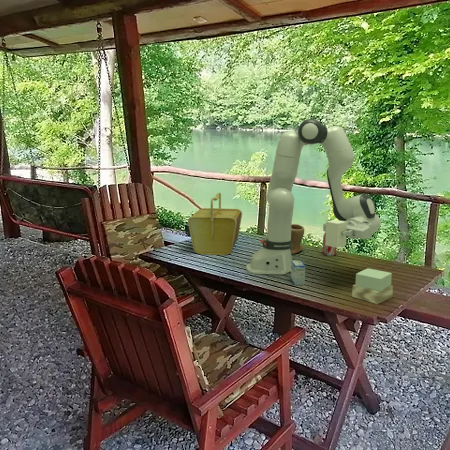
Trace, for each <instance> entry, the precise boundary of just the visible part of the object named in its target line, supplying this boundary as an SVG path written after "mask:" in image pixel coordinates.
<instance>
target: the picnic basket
mask: <svg viewBox="0 0 450 450" xmlns="http://www.w3.org/2000/svg"><path fill="white" fill-rule="evenodd" d="M214 201H215V202H217V201H218V208H217V207H216V208H215V207H214ZM242 217H243V212H242V210H240V209H239V208H222V194H221V192H218V193H216V195H215V196H214V197H212V198H211V199H210V207H207V208H206V207H203V208H202V207H201V208H200V209H198V210H197V211H196V212H195V213H194V214H192V215H191V216H190V217H189V218H188V219H187V224H188V230H189V235H190V240H191V243H192V250H193V251H194V252H195V253H196V254H199V255H210V256H211V255H212V256H215V255H216V256H226V255H227V256H228V255H230V254H231V253H232V252H233V249H234V246H235V244H236V243H237V241H238V240H239V233H240V228H241V222H242Z"/></svg>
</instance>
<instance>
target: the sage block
mask: <svg viewBox="0 0 450 450" xmlns="http://www.w3.org/2000/svg"><path fill="white" fill-rule="evenodd" d="M392 276H393V273H392V272H389V271H382V270H379V269H373V268H366V269H363V270H361V271H359V272H357V273H355V284H354V285H355V286H357V287H362V288H366V289H370V290H374V291H378V292H381V291H382V290H384V289H386V288H387V287H389V286H392Z"/></svg>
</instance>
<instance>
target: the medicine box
mask: <svg viewBox="0 0 450 450" xmlns="http://www.w3.org/2000/svg"><path fill="white" fill-rule="evenodd" d="M305 278H306V265H305V264H304V263H303V262H302V260H292V261H291V272H290V280H291V282H292V283H293V285H295V286H297V285H298V286H305V280H306V279H305Z"/></svg>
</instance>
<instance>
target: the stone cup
mask: <svg viewBox="0 0 450 450" xmlns="http://www.w3.org/2000/svg"><path fill="white" fill-rule="evenodd" d="M304 235H305V227H304V226H303V225H300V224H297V223H292V224H291V240H292V251H291V255H292V254H298V253H299V252H301V251H303V250H304V249H305V246H304V245H302V244H301V243H302V240H303V238H304Z"/></svg>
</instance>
